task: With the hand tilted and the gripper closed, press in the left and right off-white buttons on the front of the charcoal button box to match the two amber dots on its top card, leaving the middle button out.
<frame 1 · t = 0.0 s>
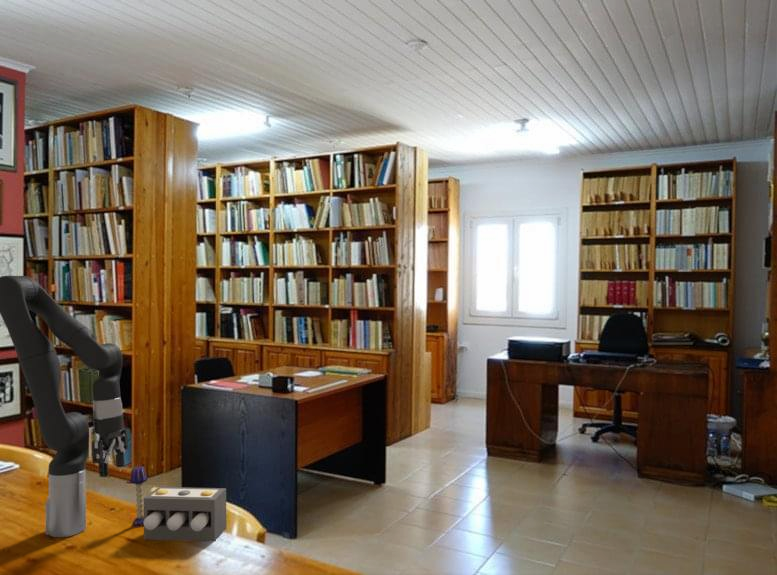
hand: (112, 471, 167), 17 cm above the table, tool pointing down, fingers open, 8 cm apart
toy lamp: (139, 524, 173), on the table
button middle: (178, 519, 162), point 6 cm above the table, slide at 0.0 cm
button left: (155, 518, 162), point 6 cm above the table, slide at 0.0 cm
button box: (186, 533, 166), on the table
button right: (201, 519, 161), point 6 cm above the table, slide at 0.0 cm
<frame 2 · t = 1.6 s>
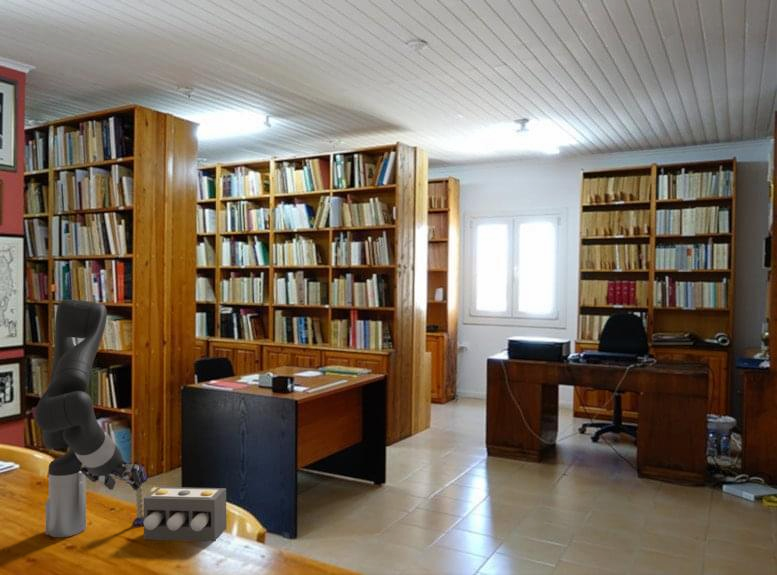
hand: (125, 486, 146), 20 cm above the table, tool tilted 45°, fingers open, 5 cm apart
nothing on the table moved.
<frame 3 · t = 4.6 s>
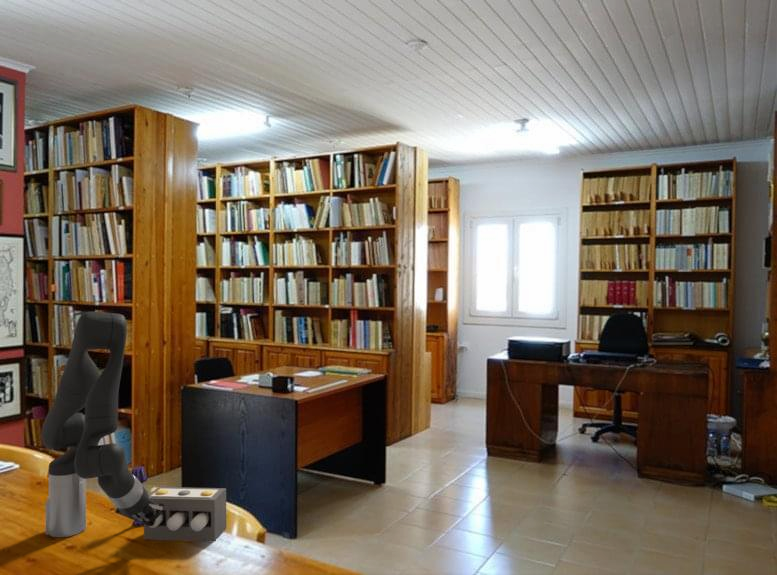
hand: (151, 522, 160), 6 cm above the table, tool tilted 45°, fingers closed
button left: (158, 516, 163), point 6 cm above the table, slide at 1.5 cm, touching gripper
everything else where it was.
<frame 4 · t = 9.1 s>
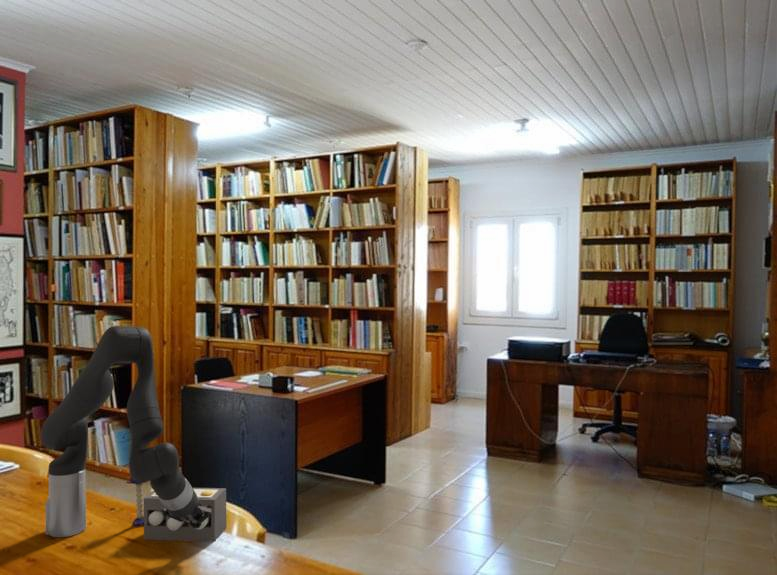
hand: (197, 524, 158), 6 cm above the table, tool tilted 45°, fingers closed
button left: (160, 514, 165), point 6 cm above the table, slide at 2.8 cm
button right: (203, 518, 162), point 6 cm above the table, slide at 1.1 cm, touching gripper
everything else where it was.
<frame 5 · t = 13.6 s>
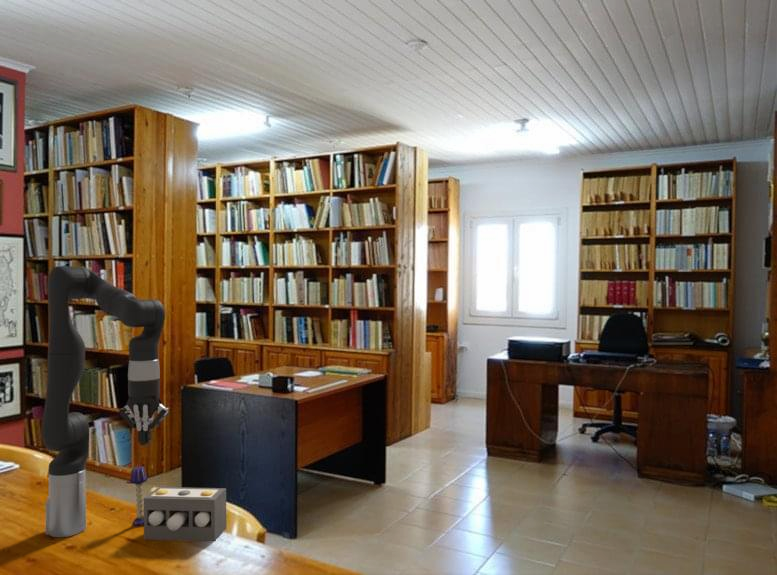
hand: (144, 444, 152), 29 cm above the table, tool pointing down, fingers closed
button right: (205, 515, 164), point 6 cm above the table, slide at 2.7 cm
everything else where it was.
at the end: button left slide at 2.8 cm; button right slide at 2.7 cm; button middle slide at 0.0 cm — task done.
